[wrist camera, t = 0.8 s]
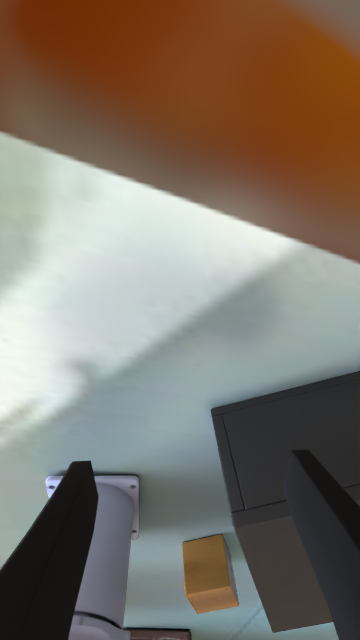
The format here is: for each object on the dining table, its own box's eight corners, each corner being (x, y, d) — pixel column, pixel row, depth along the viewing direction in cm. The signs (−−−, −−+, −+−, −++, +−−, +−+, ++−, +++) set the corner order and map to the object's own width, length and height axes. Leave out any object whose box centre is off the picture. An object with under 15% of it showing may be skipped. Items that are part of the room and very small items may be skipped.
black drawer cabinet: (370, 484, 28) (449, 601, 20) (244, 512, 29) (272, 633, 21) (372, 367, 21) (489, 473, 14) (210, 408, 22) (233, 528, 15)
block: (230, 554, 32) (239, 605, 28) (193, 561, 33) (197, 614, 29) (222, 533, 30) (230, 586, 26) (182, 542, 31) (185, 595, 27)
